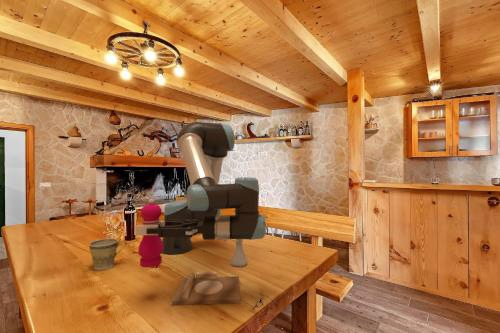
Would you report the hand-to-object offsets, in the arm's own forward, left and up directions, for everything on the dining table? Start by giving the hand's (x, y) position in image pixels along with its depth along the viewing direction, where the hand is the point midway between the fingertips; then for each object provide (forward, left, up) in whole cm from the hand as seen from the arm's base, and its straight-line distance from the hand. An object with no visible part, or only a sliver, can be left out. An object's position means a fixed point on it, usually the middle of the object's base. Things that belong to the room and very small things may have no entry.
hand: (140, 228), depth 75 cm
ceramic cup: (-31, +10, -21) cm, 39 cm away
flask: (+15, +36, -22) cm, 45 cm away
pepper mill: (+3, +2, -11) cm, 12 cm away
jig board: (+17, +12, -21) cm, 30 cm away
